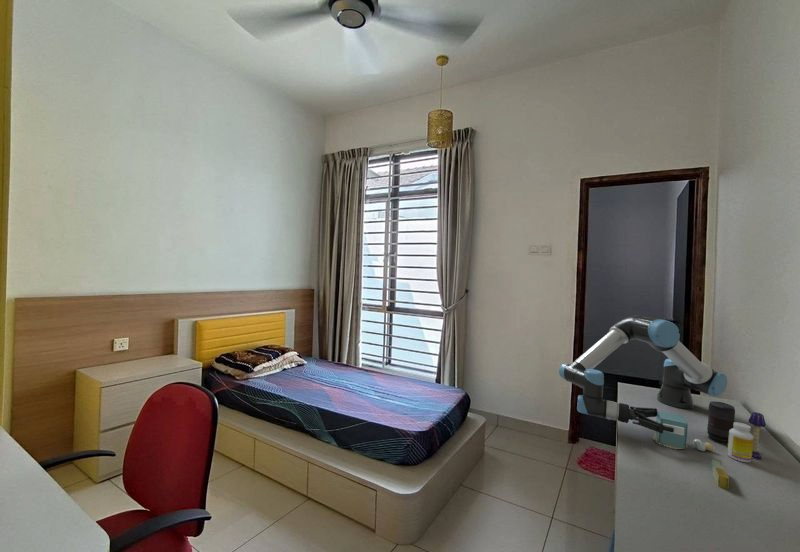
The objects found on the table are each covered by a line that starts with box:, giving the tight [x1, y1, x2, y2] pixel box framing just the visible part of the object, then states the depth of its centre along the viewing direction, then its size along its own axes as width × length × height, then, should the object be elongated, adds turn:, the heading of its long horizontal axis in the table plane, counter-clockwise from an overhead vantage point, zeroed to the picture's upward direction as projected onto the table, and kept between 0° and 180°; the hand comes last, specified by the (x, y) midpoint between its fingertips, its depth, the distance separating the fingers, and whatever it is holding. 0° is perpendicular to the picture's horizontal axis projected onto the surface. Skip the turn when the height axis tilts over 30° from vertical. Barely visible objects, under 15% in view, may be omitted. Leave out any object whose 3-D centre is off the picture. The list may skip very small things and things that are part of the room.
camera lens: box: [706, 400, 736, 445], centre depth 147 cm, size 8×8×15 cm
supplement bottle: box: [726, 421, 754, 464], centre depth 134 cm, size 7×7×13 cm
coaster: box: [652, 434, 689, 450], centre depth 144 cm, size 11×11×1 cm
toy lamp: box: [747, 411, 767, 460], centre depth 136 cm, size 5×5×17 cm
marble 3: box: [703, 441, 714, 452], centre depth 139 cm, size 3×3×3 cm
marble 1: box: [692, 438, 703, 447], centre depth 141 cm, size 3×3×3 cm
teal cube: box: [655, 410, 689, 450], centre depth 143 cm, size 8×8×10 cm
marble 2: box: [695, 442, 707, 452], centre depth 138 cm, size 3×3×3 cm
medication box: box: [711, 459, 730, 490], centre depth 120 cm, size 12×3×4 cm, turn 148°
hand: (680, 424), depth 142 cm, fingers open, 13 cm apart
